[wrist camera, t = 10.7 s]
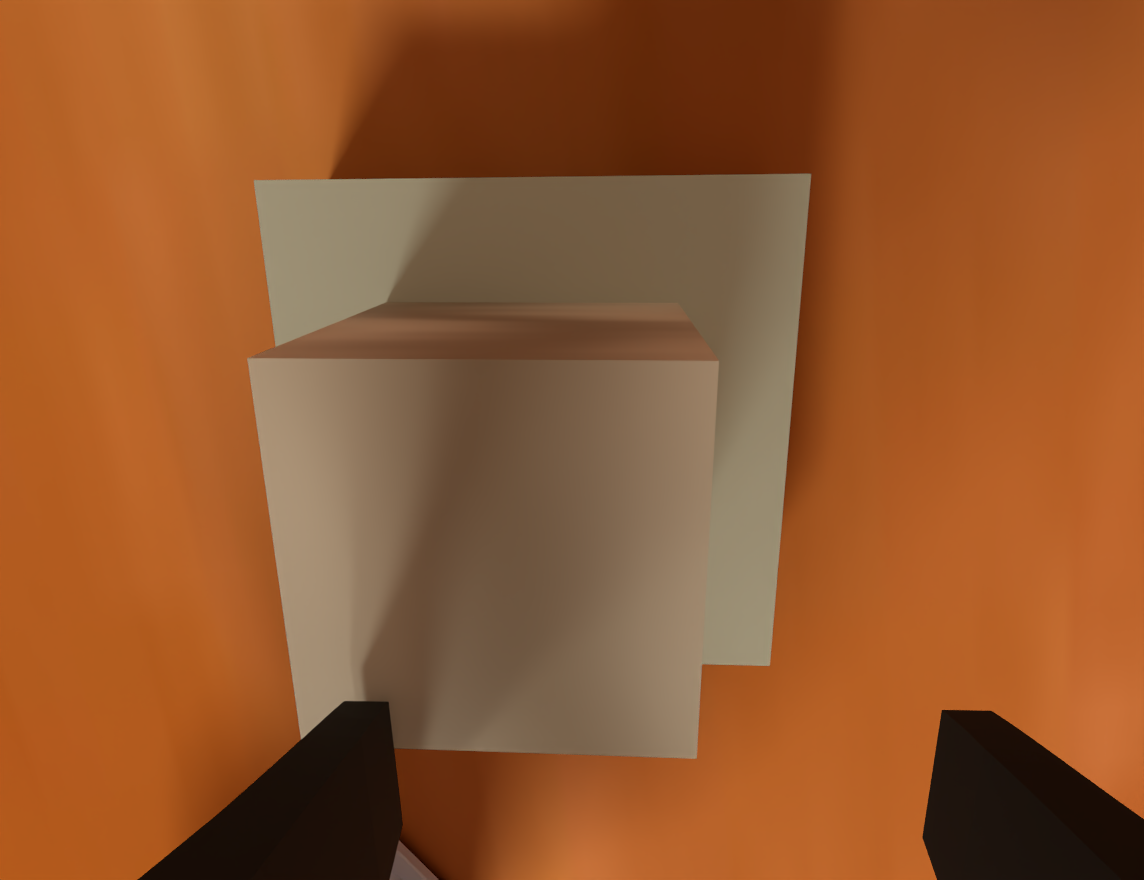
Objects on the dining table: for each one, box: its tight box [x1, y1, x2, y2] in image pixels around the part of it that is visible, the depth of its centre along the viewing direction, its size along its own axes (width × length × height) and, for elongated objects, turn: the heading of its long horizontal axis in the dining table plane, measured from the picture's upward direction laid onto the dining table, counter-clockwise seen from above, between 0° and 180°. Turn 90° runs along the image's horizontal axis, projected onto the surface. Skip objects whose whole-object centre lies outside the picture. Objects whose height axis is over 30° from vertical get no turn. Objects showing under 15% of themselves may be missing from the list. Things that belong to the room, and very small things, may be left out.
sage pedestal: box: [254, 174, 811, 666], centre depth 16 cm, size 10×10×4 cm
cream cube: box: [247, 302, 719, 759], centre depth 12 cm, size 6×6×6 cm
